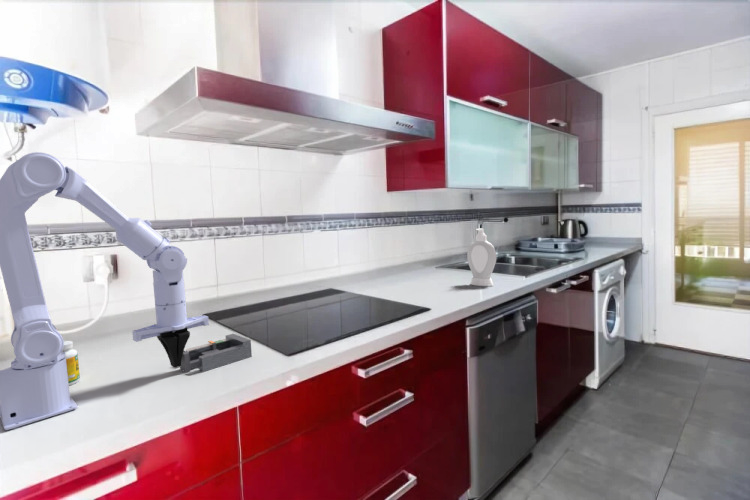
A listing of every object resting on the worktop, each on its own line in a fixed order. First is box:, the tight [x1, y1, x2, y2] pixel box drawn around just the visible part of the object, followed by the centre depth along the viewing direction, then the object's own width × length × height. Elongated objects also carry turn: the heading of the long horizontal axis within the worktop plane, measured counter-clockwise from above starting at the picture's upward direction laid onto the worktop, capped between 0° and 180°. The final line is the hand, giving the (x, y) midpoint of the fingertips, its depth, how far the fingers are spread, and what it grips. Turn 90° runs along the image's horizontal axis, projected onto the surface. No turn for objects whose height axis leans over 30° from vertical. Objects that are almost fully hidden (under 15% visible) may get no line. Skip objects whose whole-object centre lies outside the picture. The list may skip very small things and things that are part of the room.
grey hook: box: [179, 340, 220, 373], centre depth 89 cm, size 8×6×4 cm
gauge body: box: [185, 333, 253, 373], centre depth 92 cm, size 12×8×4 cm
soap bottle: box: [466, 227, 497, 287], centre depth 169 cm, size 13×8×24 cm, turn 53°
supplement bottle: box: [62, 340, 81, 387], centre depth 81 cm, size 5×5×8 cm
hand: (175, 365), depth 85 cm, fingers closed
